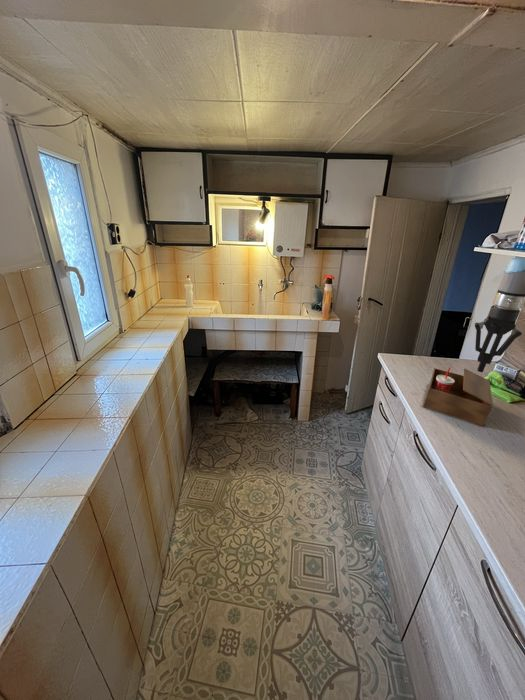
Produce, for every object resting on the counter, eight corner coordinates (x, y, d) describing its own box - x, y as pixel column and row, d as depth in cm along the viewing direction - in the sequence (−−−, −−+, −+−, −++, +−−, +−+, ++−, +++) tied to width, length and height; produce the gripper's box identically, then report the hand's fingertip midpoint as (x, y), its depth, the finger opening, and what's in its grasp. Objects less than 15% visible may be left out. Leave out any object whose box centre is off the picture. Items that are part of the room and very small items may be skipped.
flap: (488, 381, 109) (489, 380, 109) (491, 405, 94) (492, 404, 94) (464, 369, 113) (464, 368, 112) (463, 390, 98) (463, 389, 98)
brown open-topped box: (481, 400, 113) (488, 382, 109) (482, 426, 98) (491, 406, 94) (428, 385, 122) (434, 368, 119) (423, 406, 107) (429, 388, 104)
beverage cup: (451, 401, 110) (463, 370, 104) (437, 403, 109) (449, 371, 103) (439, 393, 116) (450, 363, 110) (426, 394, 115) (436, 364, 109)
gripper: (482, 305, 92) (458, 369, 102) (534, 313, 85) (503, 380, 95) (481, 301, 98) (459, 361, 107) (530, 308, 91) (501, 371, 101)
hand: (480, 370), depth 101 cm, fingers closed
